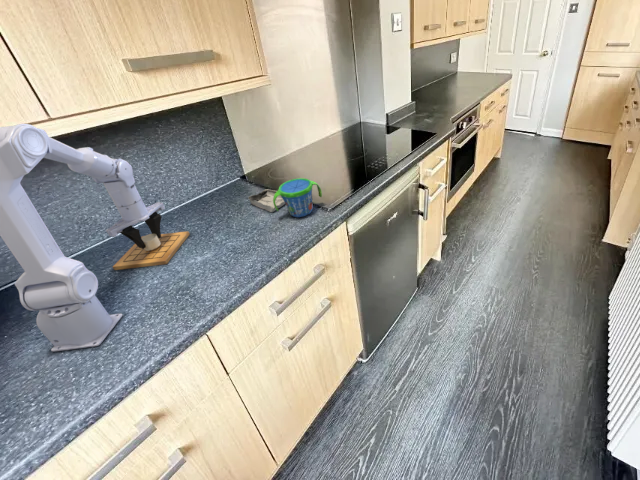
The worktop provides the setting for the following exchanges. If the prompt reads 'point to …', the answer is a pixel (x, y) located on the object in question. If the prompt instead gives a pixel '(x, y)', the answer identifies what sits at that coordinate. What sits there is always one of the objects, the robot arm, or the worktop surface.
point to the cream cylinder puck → (151, 242)
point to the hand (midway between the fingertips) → (150, 242)
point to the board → (152, 252)
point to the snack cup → (297, 196)
